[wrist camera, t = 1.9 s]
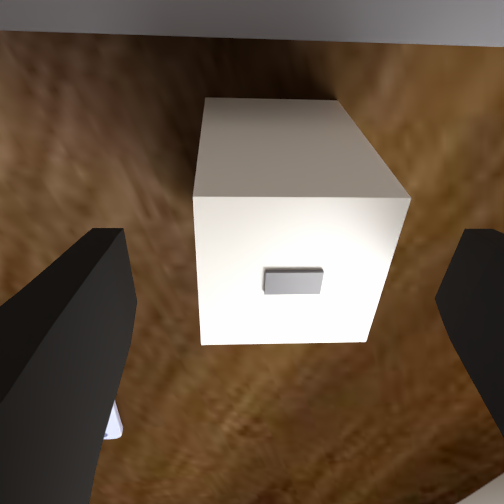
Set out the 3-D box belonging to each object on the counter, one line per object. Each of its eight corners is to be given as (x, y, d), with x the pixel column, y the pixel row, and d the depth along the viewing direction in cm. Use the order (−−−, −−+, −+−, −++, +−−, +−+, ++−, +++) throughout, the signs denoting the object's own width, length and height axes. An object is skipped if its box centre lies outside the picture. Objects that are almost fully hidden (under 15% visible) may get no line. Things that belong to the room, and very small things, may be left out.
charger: (208, 212, 14) (201, 347, 9) (205, 97, 12) (192, 199, 7) (319, 213, 15) (367, 345, 10) (337, 100, 12) (413, 201, 7)
